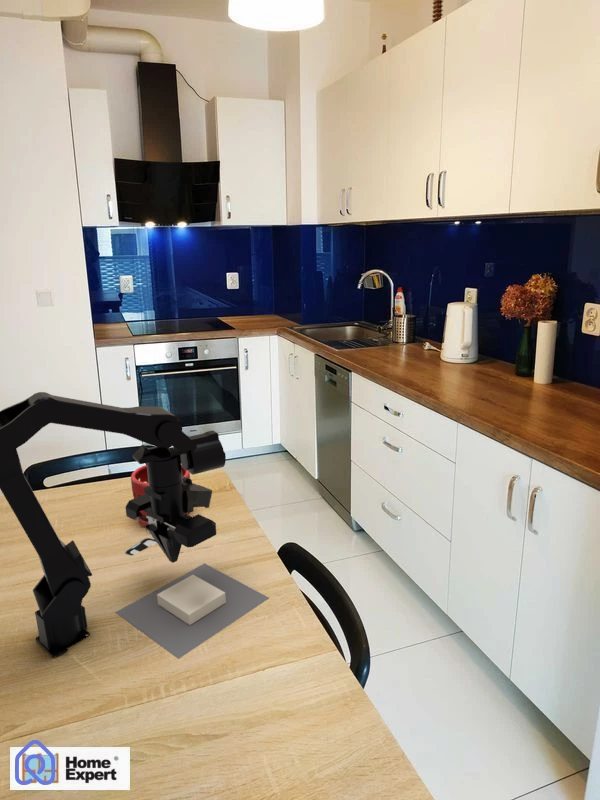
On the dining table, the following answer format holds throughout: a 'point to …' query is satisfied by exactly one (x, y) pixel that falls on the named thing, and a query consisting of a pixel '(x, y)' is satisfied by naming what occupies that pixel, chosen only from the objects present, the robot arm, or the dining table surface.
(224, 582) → the mat
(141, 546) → the smartphone
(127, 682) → the dining table surface
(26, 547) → the dining table surface
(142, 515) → the plant pot
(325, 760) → the dining table surface
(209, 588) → the tile
